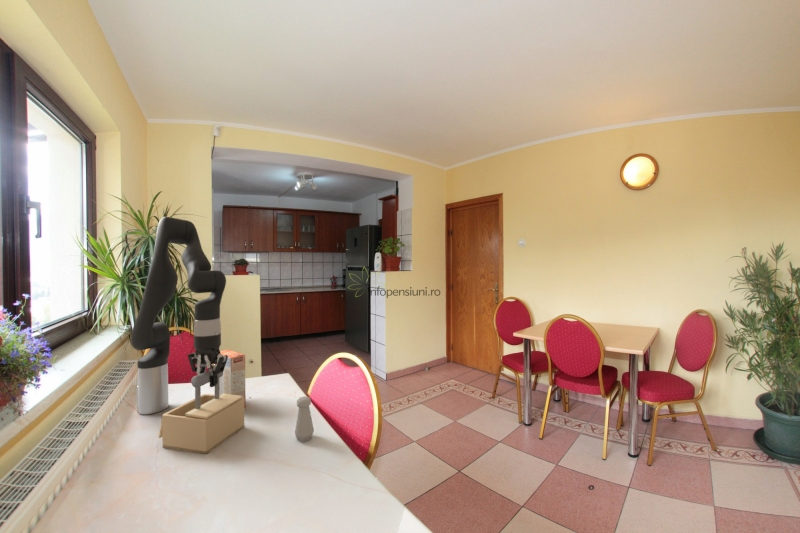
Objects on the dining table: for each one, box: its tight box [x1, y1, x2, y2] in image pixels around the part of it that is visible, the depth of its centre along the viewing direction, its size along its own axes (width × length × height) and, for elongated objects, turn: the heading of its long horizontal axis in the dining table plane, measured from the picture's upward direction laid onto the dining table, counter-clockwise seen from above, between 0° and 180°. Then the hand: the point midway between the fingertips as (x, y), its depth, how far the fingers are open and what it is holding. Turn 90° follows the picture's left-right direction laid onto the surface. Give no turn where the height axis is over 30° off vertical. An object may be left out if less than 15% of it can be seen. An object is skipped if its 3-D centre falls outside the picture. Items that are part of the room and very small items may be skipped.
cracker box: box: [219, 349, 247, 409], centre depth 127 cm, size 14×6×21 cm, turn 52°
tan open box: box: [158, 393, 245, 455], centre depth 105 cm, size 18×16×10 cm
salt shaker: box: [294, 396, 315, 443], centre depth 103 cm, size 6×6×13 cm
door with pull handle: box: [185, 368, 243, 419], centre depth 103 cm, size 9×15×11 cm, turn 167°
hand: (207, 385), depth 104 cm, fingers closed on door with pull handle, 3 cm apart
